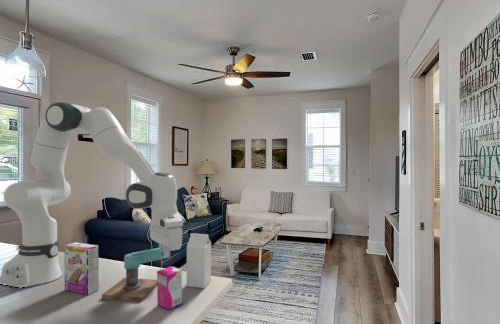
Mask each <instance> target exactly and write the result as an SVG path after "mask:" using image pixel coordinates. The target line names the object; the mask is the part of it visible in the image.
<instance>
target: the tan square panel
mask: <svg viewBox="0 0 500 324" xmlns="http://www.w3.org/2000/svg"><path fill="white" fill-rule="evenodd" d="M125 273H126V274H125V277H123V278H122V279H121V280H119V281H118V282H116V283H115V284H114V285H113V286H111V287H110V288H109V289H107V290H106V291H105V292H104V293H102V295H101V300H106V301H107V300H108V301H109V300H111V301H124V302H125V301H126V302H138V303H139V302H140V303H141V302H143V301H145V299H146V297H148V296H149V295H150V294H151V293H152V292H153V291H154V289H156V287H157V279H152V278H151V279H150V278H149V279H148V278H139V267H138V268H136V269H125Z"/></svg>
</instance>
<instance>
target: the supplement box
mask: <svg viewBox="0 0 500 324" xmlns="http://www.w3.org/2000/svg"><path fill="white" fill-rule="evenodd" d="M182 274H183V273H182V269H181V268H177V267H175V266H168V267H165V268H162V269H159V270H157V271H156V280H157V286H156V287H157V291H156V292H157V293H156V295H157V296H156V297H157V306H158V307H160V308H162V309H163V310H165V311H167V312H169V311H171V310H173V309H176V308H177V307H179V306H181V305H183V288H182V287H183V286H182V284H183V283H182V276H183V275H182Z"/></svg>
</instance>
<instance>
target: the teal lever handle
mask: <svg viewBox="0 0 500 324" xmlns="http://www.w3.org/2000/svg"><path fill="white" fill-rule="evenodd" d="M123 257H124V258H123V260H124V261H123V262H124V263H123V264H124V265H123V266H124V269H125V270H126V269H136V268H138V269H139V268H140V266H141V264H145V263H150V262H155V261H159V260H164V259H168V258H171V250H170V251H169V257H167V258H164V257H162V256H161V251H160V247H156V248H151V249H145V250H141V251H136V252H131V253H127V254H125V255H124V256H123Z"/></svg>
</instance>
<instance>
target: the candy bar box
mask: <svg viewBox="0 0 500 324" xmlns="http://www.w3.org/2000/svg"><path fill="white" fill-rule="evenodd" d="M63 246H64V292H69V293H73V294H74V293H75V294H81V295H84V296H90V295H92V294H93V293H96V292H97V291H99V245H97V244H90V243H84V242H83V243H82V242H77V241H76V242H72V243H69V244H66V245H63Z"/></svg>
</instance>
